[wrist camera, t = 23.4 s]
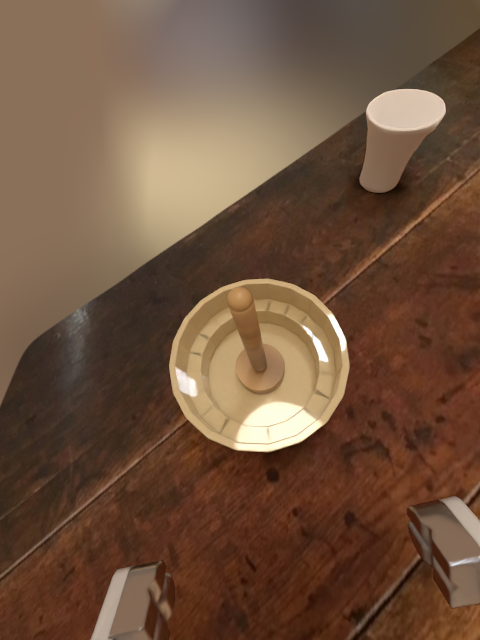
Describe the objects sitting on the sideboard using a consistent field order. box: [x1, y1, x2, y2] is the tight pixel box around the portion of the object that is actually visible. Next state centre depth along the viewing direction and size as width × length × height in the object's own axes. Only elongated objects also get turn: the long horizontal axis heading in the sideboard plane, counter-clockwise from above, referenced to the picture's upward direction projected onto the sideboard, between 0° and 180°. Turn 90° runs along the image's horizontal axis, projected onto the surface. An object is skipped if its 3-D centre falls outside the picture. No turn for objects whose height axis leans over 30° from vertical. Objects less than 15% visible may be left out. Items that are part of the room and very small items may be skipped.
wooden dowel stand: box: [227, 287, 285, 394], centre depth 22 cm, size 5×5×17 cm
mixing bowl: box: [169, 279, 350, 452], centre depth 27 cm, size 16×16×7 cm
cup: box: [359, 89, 446, 193], centre depth 36 cm, size 9×9×10 cm
